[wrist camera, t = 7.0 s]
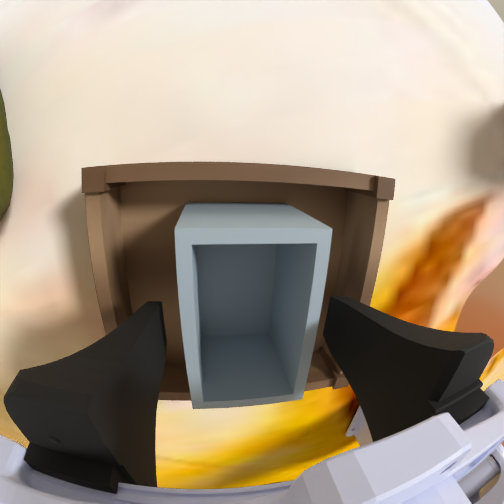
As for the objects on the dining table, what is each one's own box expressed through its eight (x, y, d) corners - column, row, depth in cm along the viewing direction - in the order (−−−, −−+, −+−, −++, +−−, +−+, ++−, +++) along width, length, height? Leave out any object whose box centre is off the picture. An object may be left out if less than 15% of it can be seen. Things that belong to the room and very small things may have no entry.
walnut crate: (326, 351, 18) (347, 386, 15) (135, 360, 16) (125, 401, 13) (355, 173, 15) (395, 179, 11) (111, 165, 12) (81, 167, 9)
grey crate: (275, 334, 16) (301, 399, 11) (193, 338, 16) (192, 408, 10) (286, 203, 14) (332, 228, 9) (186, 202, 13) (174, 228, 8)
